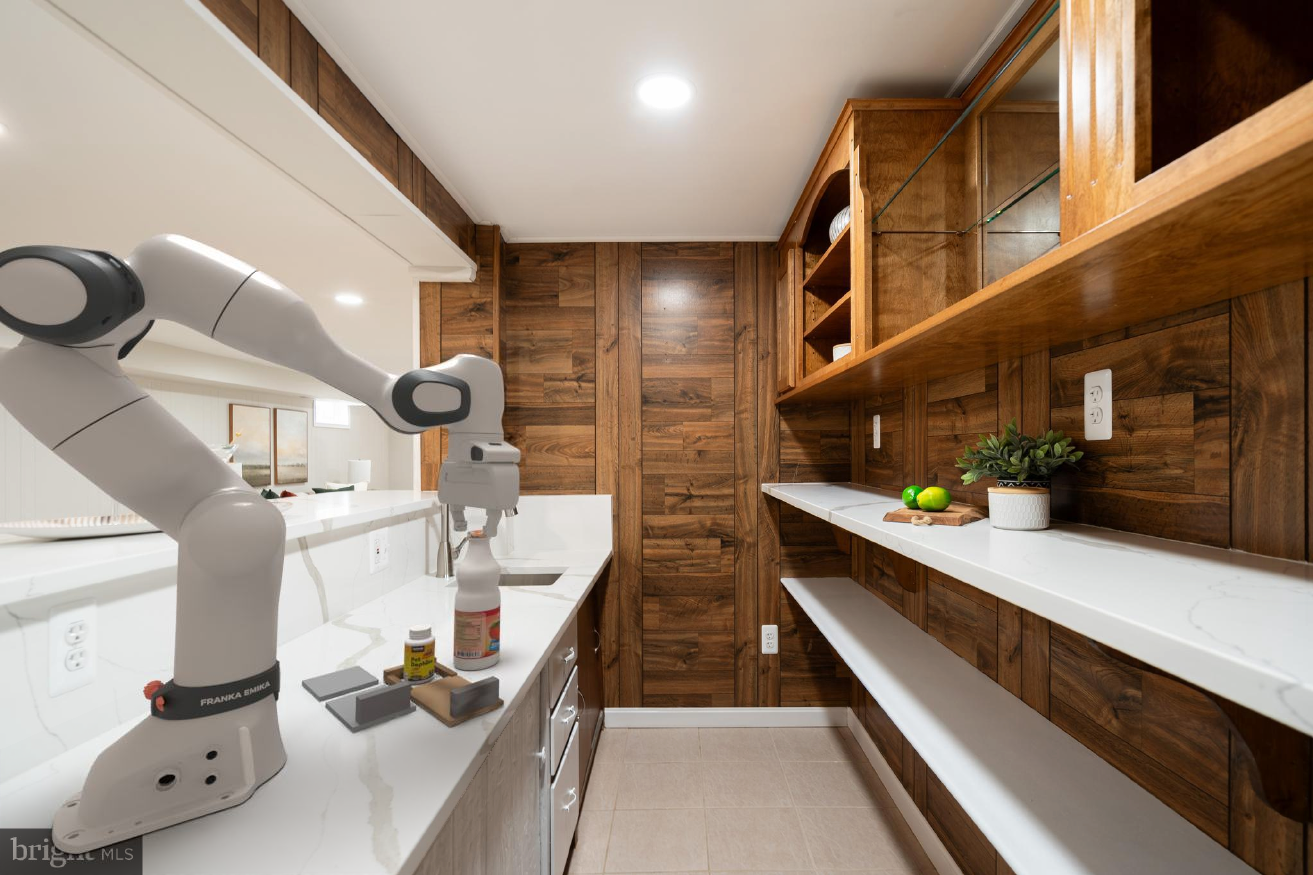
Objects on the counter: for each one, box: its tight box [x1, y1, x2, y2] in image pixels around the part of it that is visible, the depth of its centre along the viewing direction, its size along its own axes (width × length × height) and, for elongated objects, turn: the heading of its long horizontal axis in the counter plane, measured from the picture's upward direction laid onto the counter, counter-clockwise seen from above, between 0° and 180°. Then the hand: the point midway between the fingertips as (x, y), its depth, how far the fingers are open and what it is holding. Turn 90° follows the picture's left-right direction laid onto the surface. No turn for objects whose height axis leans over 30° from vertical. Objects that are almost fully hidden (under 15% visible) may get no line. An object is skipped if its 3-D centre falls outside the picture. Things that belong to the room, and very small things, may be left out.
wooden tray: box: [382, 656, 505, 727], centre depth 98 cm, size 10×26×5 cm, turn 49°
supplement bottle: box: [402, 623, 436, 685], centre depth 104 cm, size 6×6×10 cm
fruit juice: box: [453, 529, 502, 671], centre depth 113 cm, size 9×9×28 cm
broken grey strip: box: [301, 665, 417, 734], centre depth 96 cm, size 10×26×5 cm, turn 49°
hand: (474, 533), depth 88 cm, fingers open, 8 cm apart
